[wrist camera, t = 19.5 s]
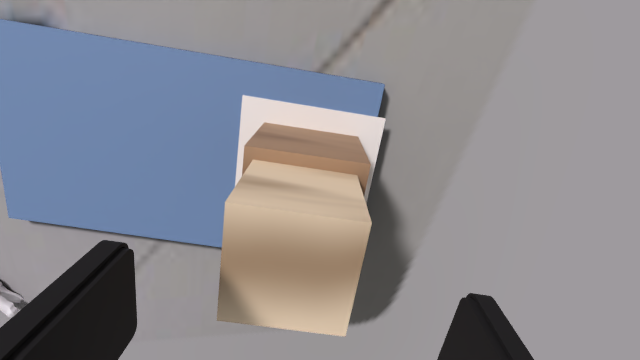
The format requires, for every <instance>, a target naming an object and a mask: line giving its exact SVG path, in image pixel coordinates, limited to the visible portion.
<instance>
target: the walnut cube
mask: <svg viewBox="0 0 640 360" xmlns="http://www.w3.org/2000/svg"><path fill="white" fill-rule="evenodd" d="M252 160H259V161H266V162H273V163H279V164H286V165H293V166H299V167H306V168H312V169H319V170H326V171H332V172H339V173H346V174H352V175H357V176H358V179H359V183H360V186H361V189H362V192H363V196H364V195H365V190H366V185H367V181H368V176H369V171H370V167H371V163H370V161H369V159H368V157H367V155H366V153H365V150H364V148H363V146H362V144H361V142H360V140H359V138H358V136H351V135H345V134H338V133H332V132H325V131H318V130H312V129H305V128H299V127H292V126H285V125H279V124H272V123H266V122H264V123H263V125H262V126H261V127H260V128H259V129H258V130H257V131H256V133H255V134H254V135H253V136H252V137H251V138H250V140H249V141H248V142H247V143H246V144H245V145H244V156H243V168H242V176H243V174H244V172H245V171H246V169H247V168H248V166H249V165H250V163H251V162H252Z"/></svg>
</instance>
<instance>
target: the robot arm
mask: <svg viewBox="0 0 640 360" xmlns="http://www.w3.org/2000/svg"><path fill="white" fill-rule="evenodd" d="M136 327H137V311H136V289H135V268H134V252H133V250H131V249H129V248H128V245H127V244H126V243H122V242H115V241H108V240H103V241H101V242H99V243H98V244H97V245H96V246H95V247H94V248H92V249H91V250H90V251H89V252H88V253H87V254H85V255H84V256H83V257H82V258H81V259H80V260H78V261H77V262H76V263H75V264H74V265H73V266H72V267H70V268H69V269H68V270H67V271H66V272H65V273H63V274H62V275H61V276H60V277H59V278H58V279H56V280H55V281H54V282H53V283H52V284H51V285H49V286H48V287H47V288H46V289H45V290H44V291H43V292H41V293H40V294H39V295H38V296H37V297H36V298H34V299H33V300H32V301H31V302H30V303H29V304H27V305H26V306H25V307H24V308H23V309H22V310H20V311H19V312H18V313H17V314H16V315H15V316H14V317H12V318H11V319H10V320H9V321H8V322H7V323H5V324H4V325H3V326H2V327H1V328H0V360H118V359H119V357H120V356H121V354H122V353H123V351H124V350H125V348H126V347H127V345H128V344H129V342H130V341H131V339H132V338H133V336H134V334H135V331H136ZM437 360H534V359H533V357H532V356H531V354H530V353H529V351H528V350H527V348H526V347H525V345H524V344H523V342H522V341H521V339H520V338H519V336H518V335H517V333H516V332H515V330H514V329H513V327H512V326H511V324H510V323H509V321H508V320H507V318H506V317H505V315H504V314H503V312H502V311H501V309H500V308H499V306H498V304H497V303H496V301H495V300H494V299H493V298H492V297H491V296H486V295H479V294H473V293H470V294H468V295H467V297H466V298H462V299H461V300H460V302H459V305H458V308H457V310H456V313H455V315H454V318H453V321H452V323H451V326H450V328H449V331H448V333H447V336H446V338H445V341H444V344H443V346H442V349H441V351H440V354H439V357H438V359H437Z"/></svg>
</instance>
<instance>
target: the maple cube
mask: <svg viewBox="0 0 640 360" xmlns="http://www.w3.org/2000/svg"><path fill="white" fill-rule="evenodd" d="M371 225H372V222H371V218H370V215H369V212H368V209H367V205H366V202H365V199H364V196H363V192H362V189H361V186H360V183H359V179H358V176H357V175H352V174H346V173H339V172H332V171H326V170H319V169H312V168H306V167H299V166H293V165H286V164H279V163H273V162H266V161H259V160H252V162H251V163H250V165H249V166H248V168H247V169H246V171H245V172H244V174H243V176H242V177H241V179H240V180H239V182H238V183H237V185H236V186H235V188H234V189H233V191H232V192H231V194H230V195H229V197H228V198H227V200H226V201H225V210H224V224H223V239H222V253H221V268H220V282H219V297H218V311H217V321H225V322H233V323H241V324H249V325H257V326H265V327H272V328H280V329H288V330H296V331H304V332H313V333H320V334H328V335H336V336H346V332H347V328H348V324H349V319H350V315H351V311H352V306H353V302H354V298H355V294H356V289H357V285H358V281H359V276H360V272H361V268H362V264H363V259H364V255H365V251H366V246H367V242H368V238H369V234H370V229H371Z"/></svg>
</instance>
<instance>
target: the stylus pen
mask: <svg viewBox="0 0 640 360" xmlns="http://www.w3.org/2000/svg"><path fill="white" fill-rule="evenodd" d="M22 299H24V298H23V297H22V296H21V295H19V294H17V293H14V292H11V291H10V290H8V289H6V288H5V287H4V286H3V285H2V282H1V281H0V310H1V311H2V312H3V313H4V314H6V315H7V316H8V317H13V316H15V315H16V314H17V311H18V310H17V308H16V307H15V306H14V304H13V303H22V302H20V301H21V300H22ZM12 302H13V303H12Z"/></svg>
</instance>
